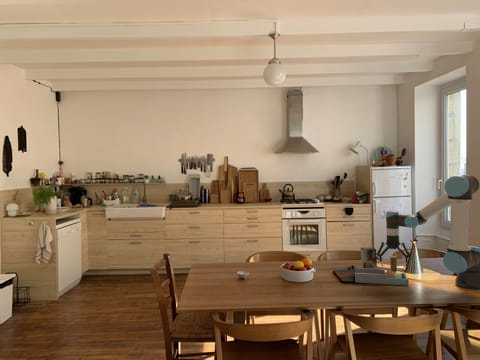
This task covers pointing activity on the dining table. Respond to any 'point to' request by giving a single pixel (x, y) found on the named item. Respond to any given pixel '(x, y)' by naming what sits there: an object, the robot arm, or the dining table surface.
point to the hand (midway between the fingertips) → (393, 267)
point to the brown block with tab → (393, 263)
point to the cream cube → (398, 275)
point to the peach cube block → (389, 274)
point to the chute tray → (398, 280)
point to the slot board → (370, 275)
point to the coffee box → (368, 258)
